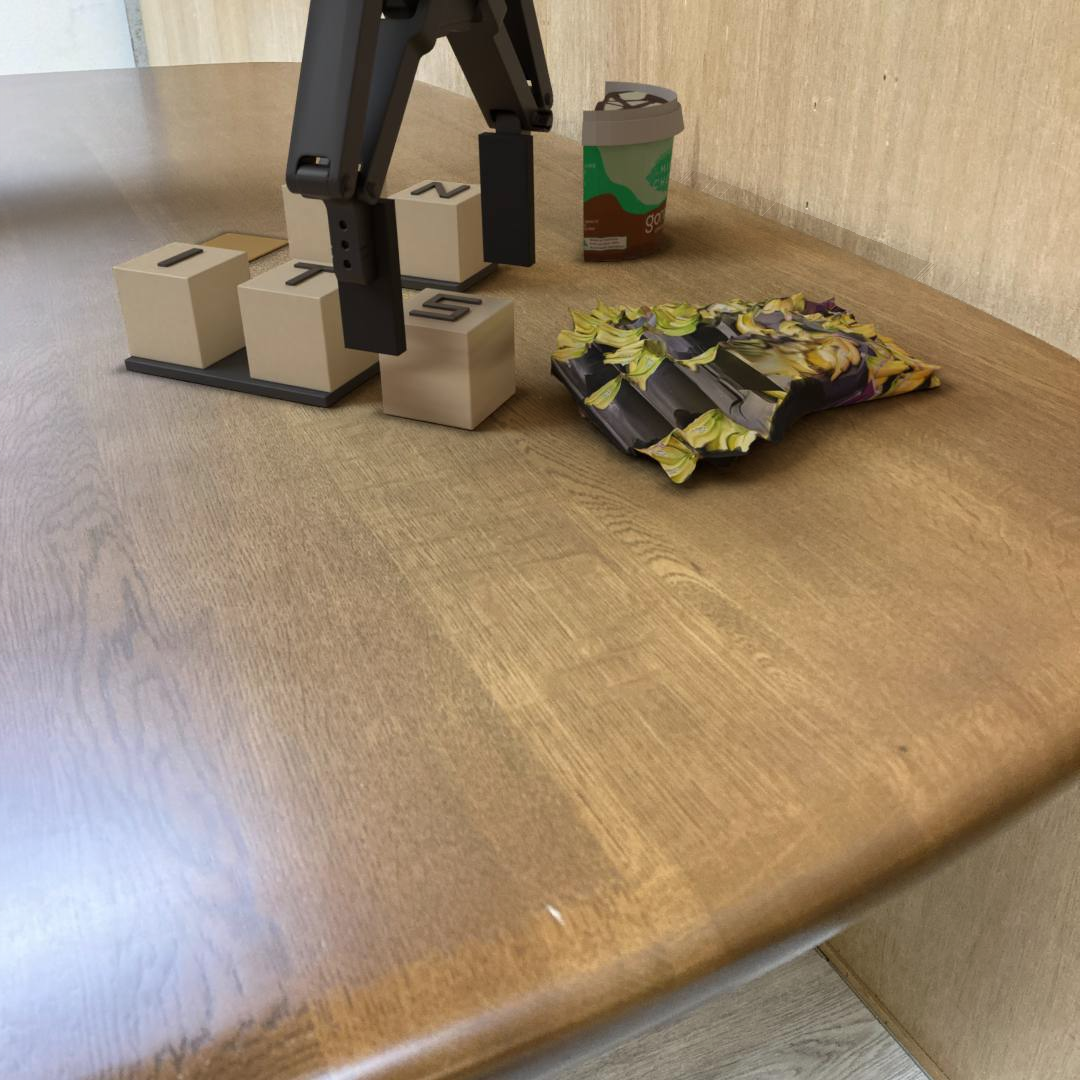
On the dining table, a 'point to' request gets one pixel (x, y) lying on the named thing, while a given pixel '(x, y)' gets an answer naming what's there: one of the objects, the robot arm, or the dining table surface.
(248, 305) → the front word
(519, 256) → the robot arm
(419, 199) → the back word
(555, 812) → the dining table surface
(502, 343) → the tile
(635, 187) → the food container
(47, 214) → the dining table surface
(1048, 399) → the dining table surface
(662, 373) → the banana patterned fabric
